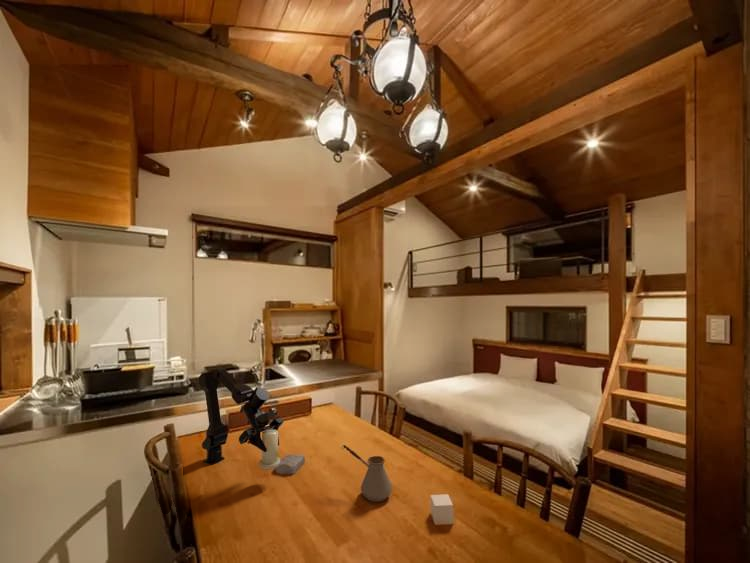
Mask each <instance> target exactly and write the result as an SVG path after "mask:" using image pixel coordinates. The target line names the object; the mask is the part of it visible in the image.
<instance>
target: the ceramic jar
mask: <svg viewBox="0 0 750 563" xmlns="http://www.w3.org/2000/svg"><path fill="white" fill-rule="evenodd" d="M278 437H279V430H278V431H277V430H273V429H271V430H266V431H263V432H261V439H262V441H263V443H264V445H265V447H266V449H267V451H266V452H264V451H262V450H261V459H260V460H259V461H258V467H259V469H260V470H263V471H269V470H275V468H277V467H278V466H279V465H280V460H281V457H279V456H278V455H279V452H278V451H279V449H278V448H279V446H278Z"/></svg>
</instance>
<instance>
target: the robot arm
mask: <svg viewBox="0 0 750 563" xmlns="http://www.w3.org/2000/svg"><path fill="white" fill-rule="evenodd" d="M220 383H221V385H223V386H224V387H225V388H226V389H227V390H228V391H229V392H230V393H231V399H232V400H233V401H234V403H236V404H237V405H240V404H243V403H244V404H243V405H241V406H240V410H239V413H244V415H245V417H246V418H247V420H248V421H247V425H250V426H251V427H250V428H247V429H245V430H243V431H242V433H241V434H240V435H239V436H238V442H239V444H240V445H243V444H245V443H247V444H248V445H249V444H250V445H253V446H254V447H256V448H257V449H258V450H260V451H261V452H262V451H264V452H266V451H267V449H266V447H265V445H264V443H263V441H262V435H261V434H262V433H263V432H264V431H266V430H271V429H273V430H277V431H278V432H279V428H280V427H281V425H283V423H285V420H284V418H283V417H282V416H278V417H276V416H277V415H278V412H277V411H278V410H277V409H276V407H272V408H270V409H268V411H267V412H265V411H264V410H261V408H262V407H263V406H264V404H265V403H266V402H267V401H268V399H269V398H270V392H269V391H268V390H266V389H265V388H262V387H261V386H256V387H255V388H254V389H253V388H252V387H251V386H249V385H247V384H243V383H241V382H240V381H238V379H236V378H235V377H234V376H233V375H232V374H231V373H230V372H228V371H227V368H225V367H221V368H215V369H213V370H209V371H204V372H201V373H200V374H199V376H198V384H199V386H200V389H201V390H202V391H203V392H204V394H205V396H204V397H205V401H206V402H205V403H206V410H207V418H208V427H207V428H206V431H205V436H206V437H205V439H204V440H203V441H202V442H201V448H202V449H203V450H205V451H206V458H204V459H203V462H205V463H206V464H209V465H214V464H217V463H218V462H221V461H223V460H225V457H224V456H223V455H222V454H223V448H222V447H223V445H225V444H226V443H227V440H228V436H229V433H228V432H229V431H228V426H227V424H224V423H223V422H222V418H221V411H220V410H221V409H220V403H219V394H218V388H219V386H220ZM279 438H280V437H279V436H278V447H279V446H280V439H279Z"/></svg>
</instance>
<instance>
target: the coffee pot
mask: <svg viewBox="0 0 750 563" xmlns="http://www.w3.org/2000/svg"><path fill="white" fill-rule="evenodd" d="M345 449H346V451H348V452H349V453H350V454H351V455H352V456H353V457H354V458H356V459H358V460H359V461H360V462H362V463H363V464H364V465H365V466H366V467H367V471H366V473H365V474H364V475H365V476H364V478H363V480H362V483H361V486H360V491H361V494H362V495H363V496H364V497H365V498H366V499H367V500H368V501H369V502H373V503H378V502H379V503H380V502H383V501H385V500H386V499H387V498H388V497H389V496H390V495H391V493H392V490H393V486H392V483H391V481H390V477H389V475H388V474H387V471H386V469H385V466H384V463H385V461H386V459H385V458H384V457H383V456H382V455H373V456H372V455H371V456H370V457H368V458H367V462H366V461H365V460H364V459H362V457H361V456H360V455H358V453H356V452H355V451H354V450H352V449H350V447H349V446H348V447H347V445H345V444H343V446H342V447H341V451H343V450H345Z"/></svg>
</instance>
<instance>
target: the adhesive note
mask: <svg viewBox="0 0 750 563" xmlns="http://www.w3.org/2000/svg"><path fill="white" fill-rule="evenodd" d="M430 514H431V518H432V520H433V522H434V525H436V526H437V525H438V526H439V525H441V526H442V525H454V505H453V502H452V500H451V498H450V496H449V494H448V493H445V494H430Z"/></svg>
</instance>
